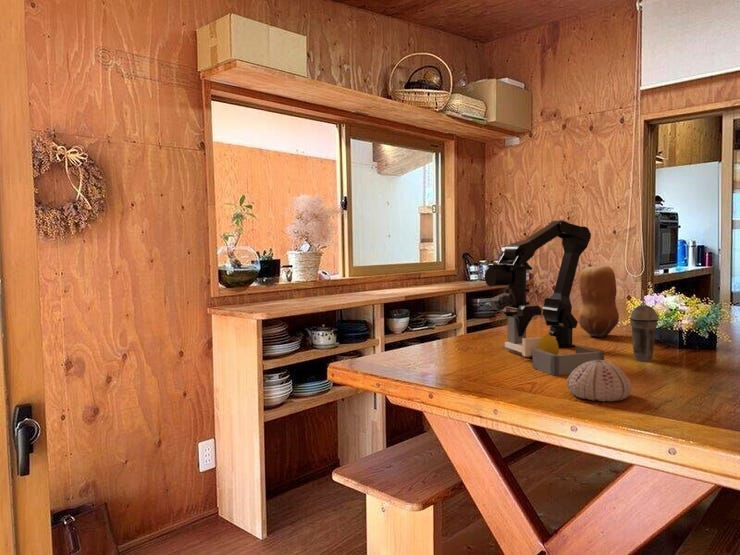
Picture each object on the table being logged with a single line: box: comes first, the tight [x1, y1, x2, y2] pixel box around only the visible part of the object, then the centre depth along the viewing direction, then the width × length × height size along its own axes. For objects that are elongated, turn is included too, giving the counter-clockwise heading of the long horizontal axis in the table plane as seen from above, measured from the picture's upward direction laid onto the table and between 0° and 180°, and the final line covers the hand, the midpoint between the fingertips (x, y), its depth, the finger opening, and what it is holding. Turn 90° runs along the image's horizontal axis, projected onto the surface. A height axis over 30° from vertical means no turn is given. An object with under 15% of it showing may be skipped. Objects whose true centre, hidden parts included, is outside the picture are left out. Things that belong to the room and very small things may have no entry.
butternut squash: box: [577, 265, 620, 338], centre depth 200 cm, size 14×13×25 cm
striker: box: [504, 316, 556, 357], centre depth 172 cm, size 10×15×10 cm, turn 16°
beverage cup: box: [629, 289, 659, 362], centre depth 162 cm, size 7×7×20 cm
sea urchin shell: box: [566, 360, 633, 403], centre depth 127 cm, size 13×14×8 cm
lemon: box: [538, 333, 560, 355], centre depth 161 cm, size 6×6×8 cm
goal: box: [532, 345, 605, 377], centre depth 153 cm, size 15×10×5 cm, turn 106°
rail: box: [500, 344, 533, 359], centre depth 176 cm, size 4×16×1 cm, turn 16°
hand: (516, 335), depth 177 cm, fingers closed on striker, 4 cm apart
